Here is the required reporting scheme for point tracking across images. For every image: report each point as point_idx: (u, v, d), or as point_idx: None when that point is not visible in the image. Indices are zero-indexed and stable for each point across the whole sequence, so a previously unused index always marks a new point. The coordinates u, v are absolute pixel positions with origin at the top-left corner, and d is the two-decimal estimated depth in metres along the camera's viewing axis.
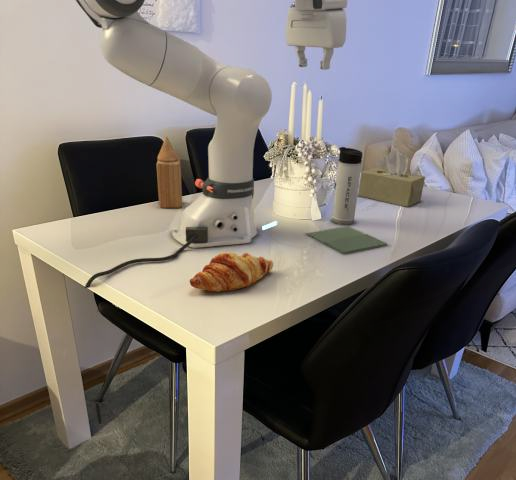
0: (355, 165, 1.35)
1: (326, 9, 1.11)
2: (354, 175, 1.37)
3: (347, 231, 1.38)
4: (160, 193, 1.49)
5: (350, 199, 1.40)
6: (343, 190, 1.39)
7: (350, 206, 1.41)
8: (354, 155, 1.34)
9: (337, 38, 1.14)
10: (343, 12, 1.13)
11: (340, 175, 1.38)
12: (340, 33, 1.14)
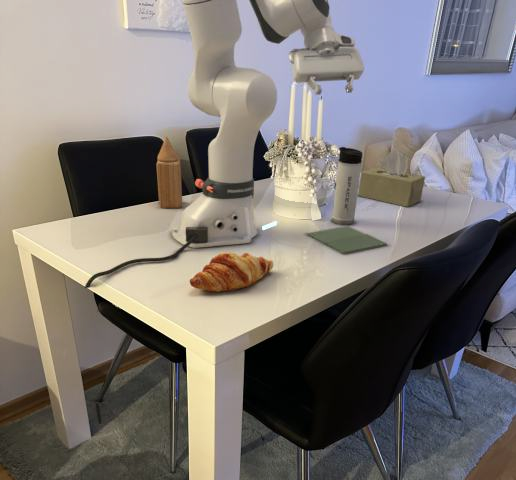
0: (355, 165, 1.35)
1: (353, 45, 1.40)
2: (354, 175, 1.37)
3: (347, 231, 1.38)
4: (160, 193, 1.49)
5: (350, 199, 1.40)
6: (343, 190, 1.39)
7: (350, 206, 1.41)
8: (354, 155, 1.34)
9: None
10: None
11: (340, 175, 1.38)
12: None
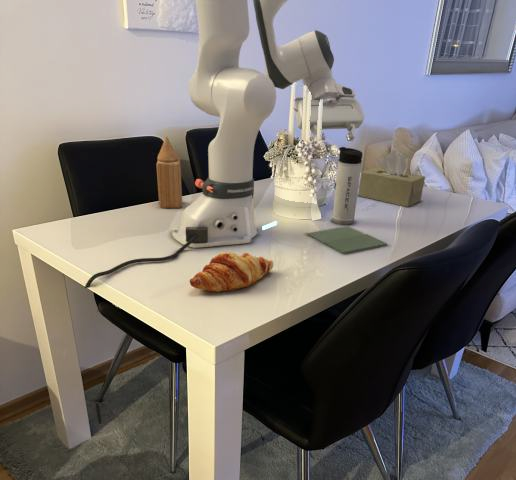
0: (355, 165, 1.35)
1: (354, 96, 1.44)
2: (354, 175, 1.37)
3: (347, 231, 1.38)
4: (160, 193, 1.49)
5: (350, 199, 1.40)
6: (343, 190, 1.39)
7: (350, 206, 1.41)
8: (354, 155, 1.34)
9: None
10: None
11: (340, 175, 1.38)
12: None
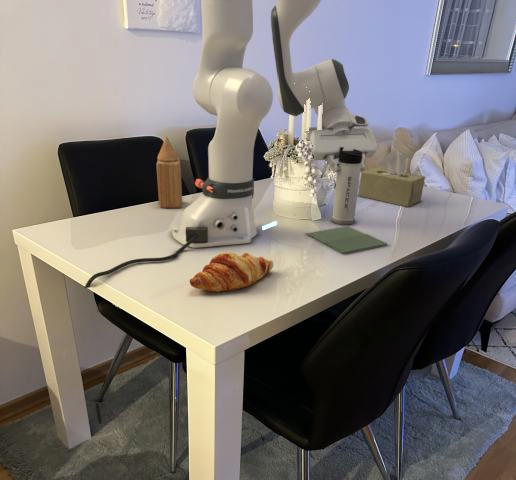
0: (355, 165, 1.35)
1: (367, 125, 1.41)
2: (353, 175, 1.37)
3: (347, 231, 1.38)
4: (160, 193, 1.49)
5: (350, 199, 1.40)
6: (343, 190, 1.39)
7: (350, 206, 1.41)
8: (354, 155, 1.34)
9: None
10: None
11: (340, 175, 1.38)
12: None
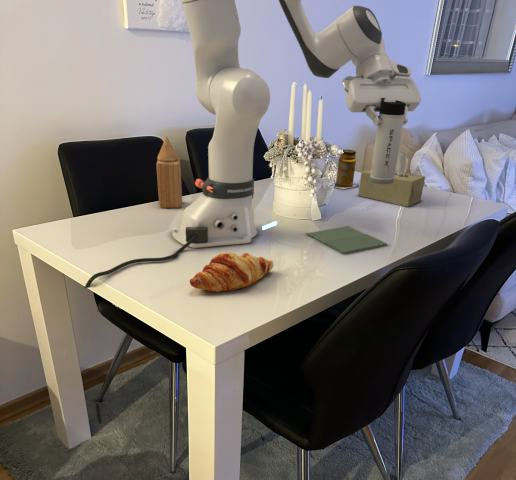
0: (398, 116, 1.24)
1: (409, 75, 1.30)
2: (396, 128, 1.25)
3: (347, 231, 1.38)
4: (160, 193, 1.49)
5: (391, 155, 1.28)
6: (384, 145, 1.27)
7: (390, 164, 1.30)
8: (397, 105, 1.22)
9: None
10: None
11: (381, 129, 1.26)
12: None
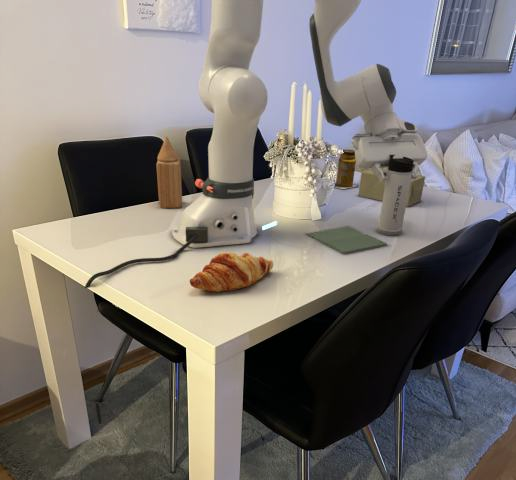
0: (406, 174, 1.28)
1: None
2: (404, 184, 1.30)
3: (347, 231, 1.38)
4: (160, 193, 1.49)
5: (399, 209, 1.33)
6: (393, 200, 1.32)
7: (398, 217, 1.34)
8: (406, 163, 1.27)
9: None
10: None
11: (389, 184, 1.31)
12: None
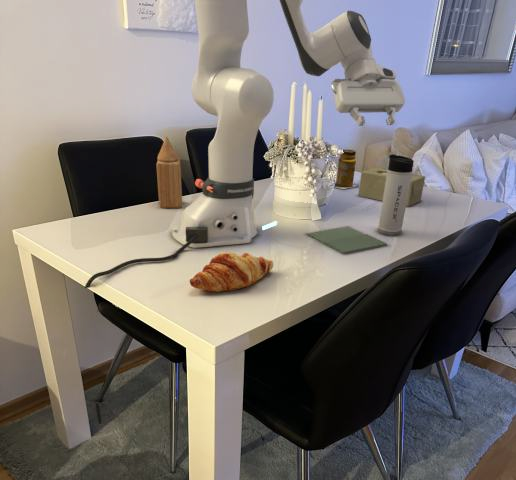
0: (406, 174, 1.28)
1: (394, 78, 1.38)
2: (404, 184, 1.30)
3: (347, 231, 1.38)
4: (160, 193, 1.49)
5: (399, 209, 1.33)
6: (393, 200, 1.32)
7: (398, 217, 1.34)
8: (406, 163, 1.27)
9: None
10: None
11: (389, 184, 1.31)
12: None
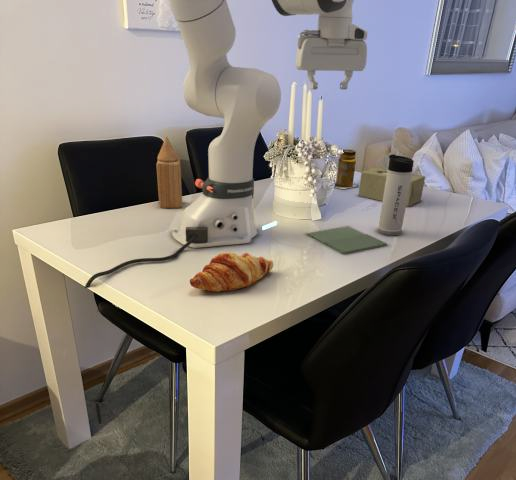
0: (406, 174, 1.28)
1: (364, 39, 1.35)
2: (404, 184, 1.30)
3: (347, 231, 1.38)
4: (160, 193, 1.49)
5: (399, 209, 1.33)
6: (393, 200, 1.32)
7: (398, 217, 1.34)
8: (406, 163, 1.27)
9: None
10: None
11: (389, 184, 1.31)
12: None
